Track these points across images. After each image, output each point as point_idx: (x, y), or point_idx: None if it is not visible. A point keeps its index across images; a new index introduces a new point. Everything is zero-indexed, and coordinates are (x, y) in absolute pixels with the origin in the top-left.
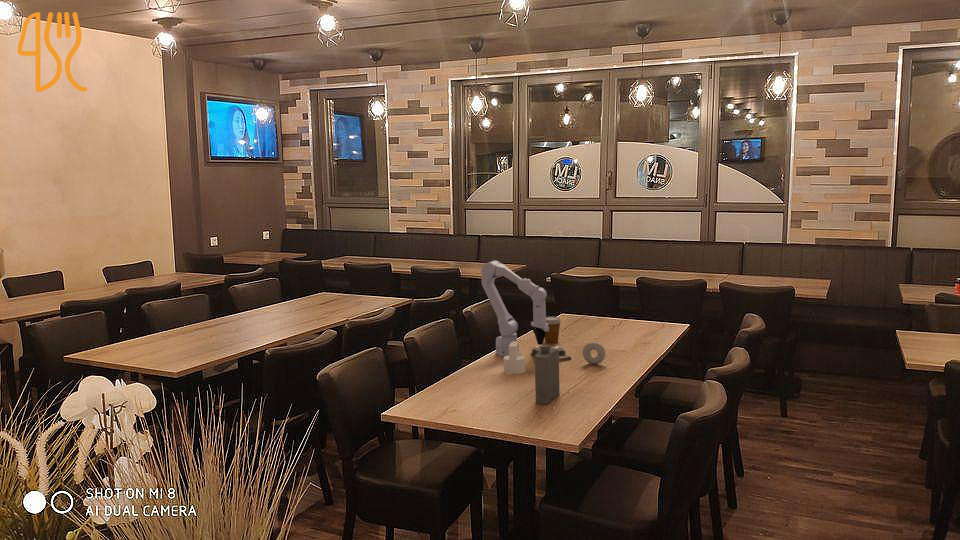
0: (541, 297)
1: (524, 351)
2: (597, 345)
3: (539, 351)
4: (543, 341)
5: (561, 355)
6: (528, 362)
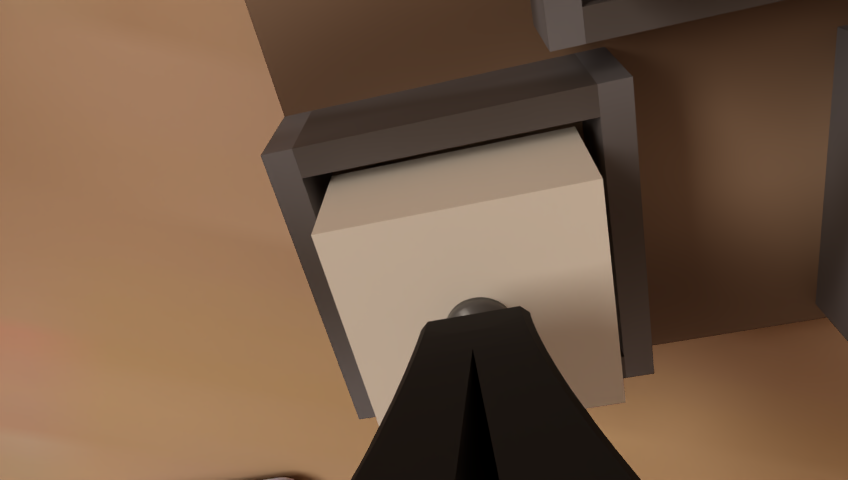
0: None
1: (39, 377)
2: None
3: (650, 326)
4: (540, 349)
5: None
6: (820, 461)
